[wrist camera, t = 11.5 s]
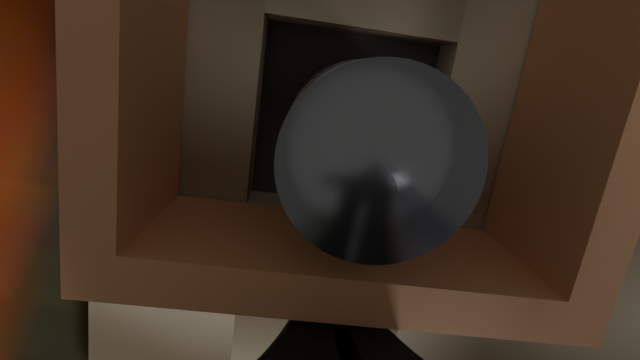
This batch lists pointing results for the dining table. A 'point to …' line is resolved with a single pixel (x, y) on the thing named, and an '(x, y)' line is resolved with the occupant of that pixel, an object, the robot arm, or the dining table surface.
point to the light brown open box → (306, 259)
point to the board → (265, 124)
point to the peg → (380, 159)
